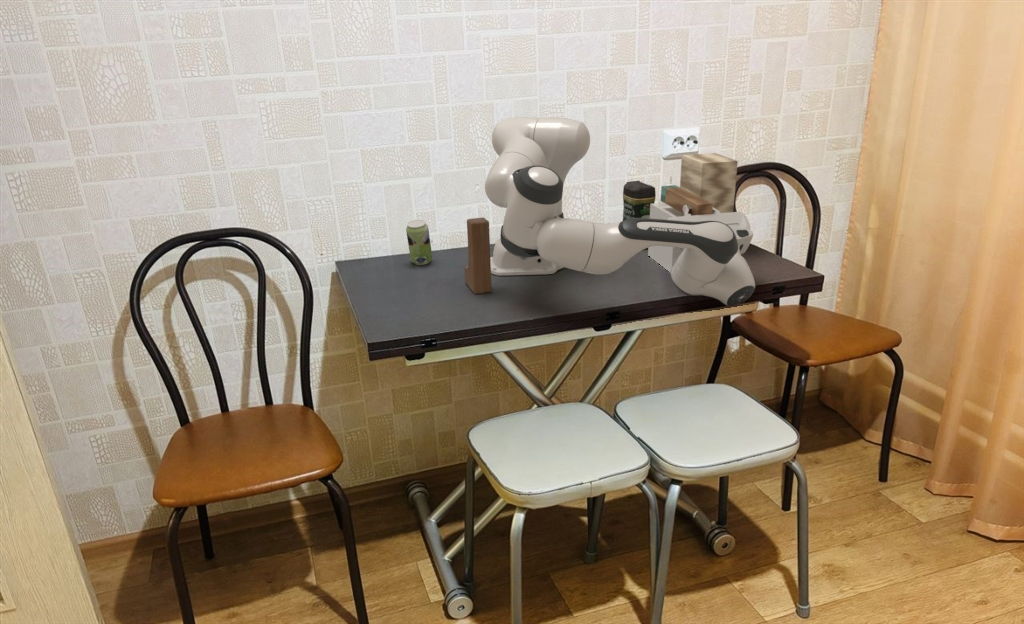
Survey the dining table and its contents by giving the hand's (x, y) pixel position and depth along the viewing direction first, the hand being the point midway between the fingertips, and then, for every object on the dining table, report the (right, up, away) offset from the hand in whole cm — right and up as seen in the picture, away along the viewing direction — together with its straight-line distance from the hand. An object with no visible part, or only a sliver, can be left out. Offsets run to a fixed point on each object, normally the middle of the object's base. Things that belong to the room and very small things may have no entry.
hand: (696, 205), depth 184 cm
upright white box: (-2, -13, +17) cm, 22 cm away
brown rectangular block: (-1, 0, +7) cm, 7 cm away
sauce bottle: (+2, -3, +44) cm, 44 cm away
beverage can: (-71, -13, +23) cm, 75 cm away
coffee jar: (-9, -7, +34) cm, 36 cm away
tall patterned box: (+9, -8, +28) cm, 31 cm away
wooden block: (-54, -20, +3) cm, 58 cm away
